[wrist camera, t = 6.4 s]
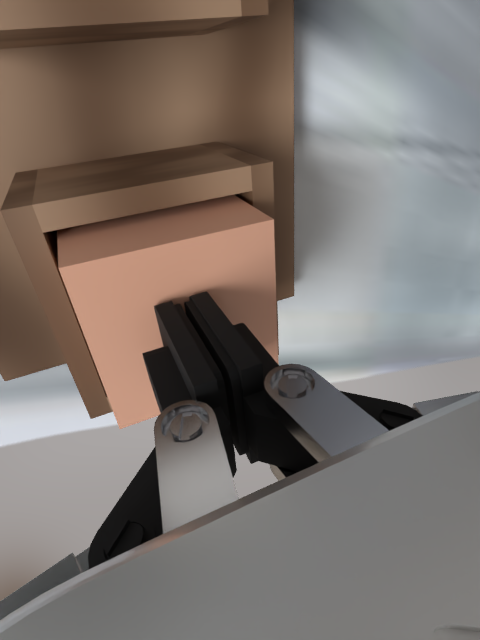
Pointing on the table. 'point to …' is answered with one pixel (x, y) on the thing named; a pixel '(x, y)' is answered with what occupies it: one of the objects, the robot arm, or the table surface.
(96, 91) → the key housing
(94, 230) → the terracotta key
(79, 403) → the table surface
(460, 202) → the table surface
